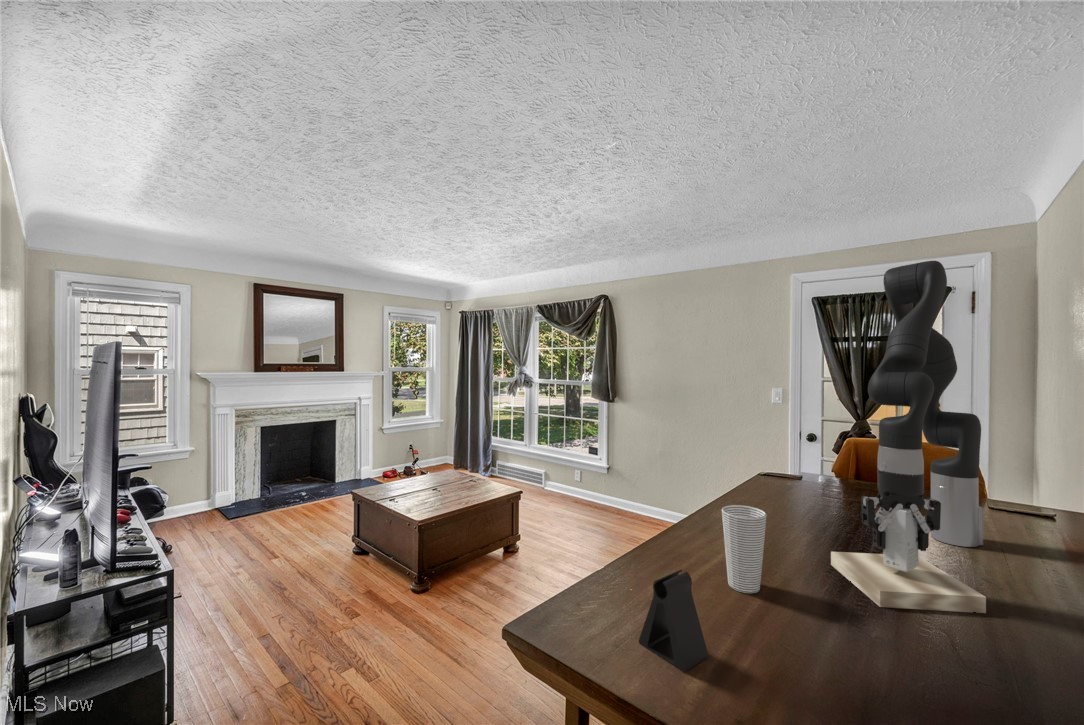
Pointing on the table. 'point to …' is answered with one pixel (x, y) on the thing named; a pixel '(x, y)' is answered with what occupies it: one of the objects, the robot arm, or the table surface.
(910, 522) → the skincare box
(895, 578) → the base block
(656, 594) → the phone stand
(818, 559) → the table surface
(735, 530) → the cup
